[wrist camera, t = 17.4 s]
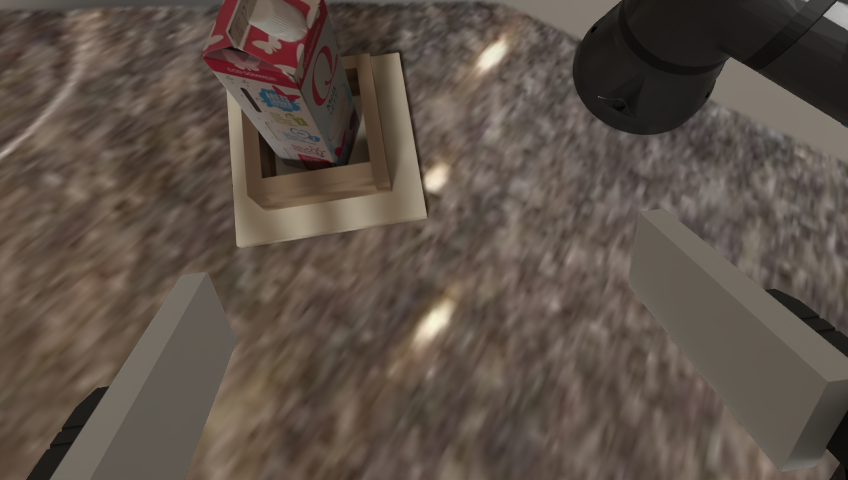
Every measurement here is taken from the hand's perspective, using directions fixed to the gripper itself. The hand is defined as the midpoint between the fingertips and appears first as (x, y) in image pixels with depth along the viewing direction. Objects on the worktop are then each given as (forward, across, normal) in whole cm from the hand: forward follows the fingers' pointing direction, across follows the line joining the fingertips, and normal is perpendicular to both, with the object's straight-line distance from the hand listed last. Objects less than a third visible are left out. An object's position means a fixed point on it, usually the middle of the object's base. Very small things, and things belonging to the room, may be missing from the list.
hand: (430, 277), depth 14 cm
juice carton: (+37, -9, -7) cm, 39 cm away
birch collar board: (+38, -9, -8) cm, 40 cm away
